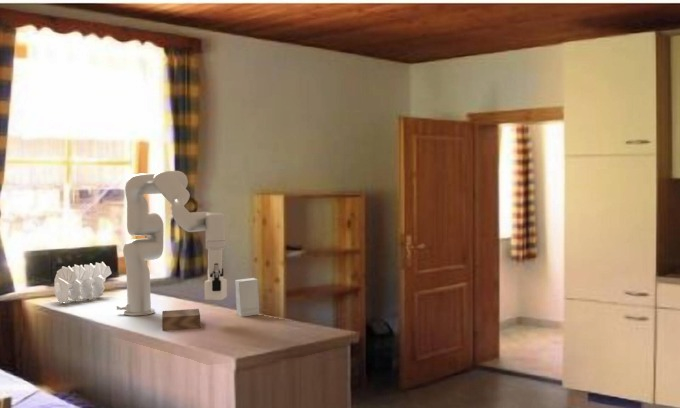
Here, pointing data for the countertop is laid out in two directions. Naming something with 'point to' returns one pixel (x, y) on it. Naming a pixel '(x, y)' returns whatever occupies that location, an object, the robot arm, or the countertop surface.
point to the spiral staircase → (80, 281)
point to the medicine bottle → (215, 294)
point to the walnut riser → (180, 319)
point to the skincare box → (247, 297)
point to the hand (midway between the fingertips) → (215, 288)
